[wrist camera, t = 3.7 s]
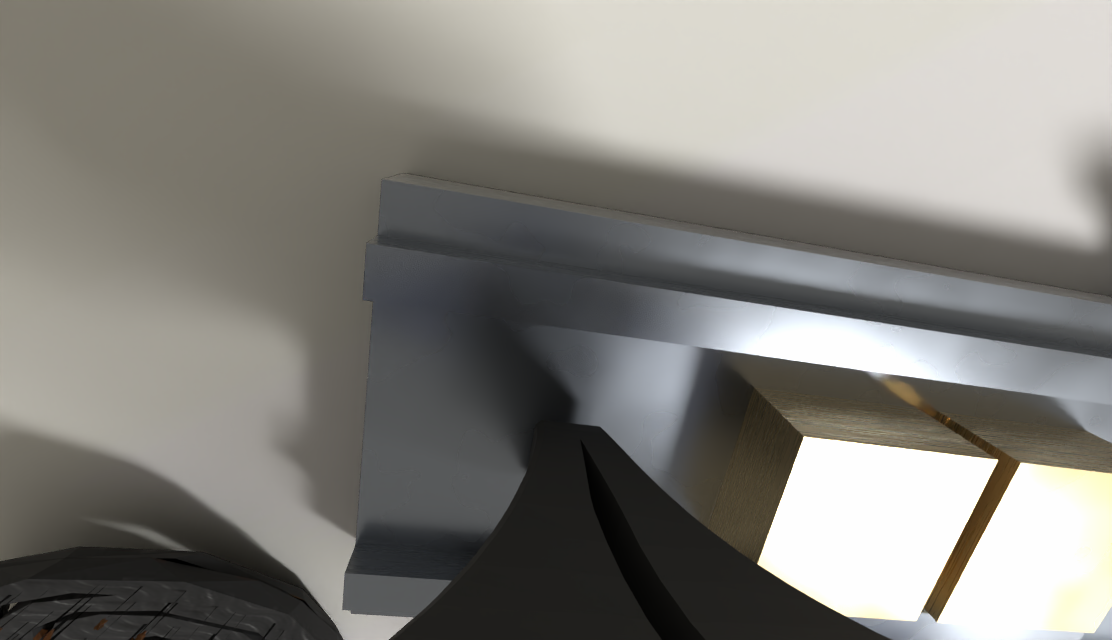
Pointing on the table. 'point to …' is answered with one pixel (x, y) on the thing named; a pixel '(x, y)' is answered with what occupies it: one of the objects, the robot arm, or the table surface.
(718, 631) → the robot arm
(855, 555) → the cream square block
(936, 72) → the table surface
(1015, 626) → the brass chip
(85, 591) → the hairbrush
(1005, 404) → the slotted bar
